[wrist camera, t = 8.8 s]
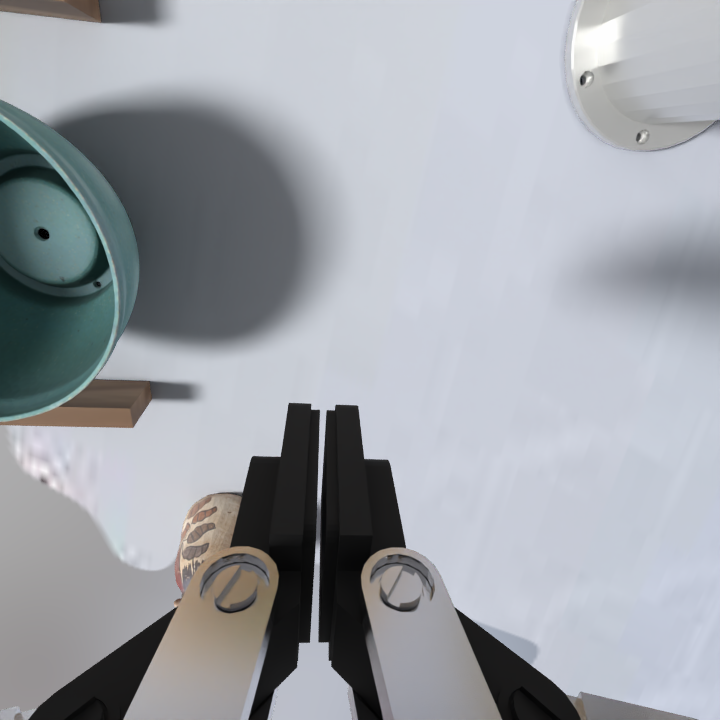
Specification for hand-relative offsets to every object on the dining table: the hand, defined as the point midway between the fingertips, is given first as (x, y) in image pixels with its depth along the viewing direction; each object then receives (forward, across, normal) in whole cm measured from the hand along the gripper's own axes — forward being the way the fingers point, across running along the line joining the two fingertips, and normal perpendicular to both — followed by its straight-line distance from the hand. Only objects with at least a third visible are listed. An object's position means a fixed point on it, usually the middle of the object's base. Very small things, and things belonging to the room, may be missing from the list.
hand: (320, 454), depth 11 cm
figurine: (+22, +8, +26) cm, 35 cm away
